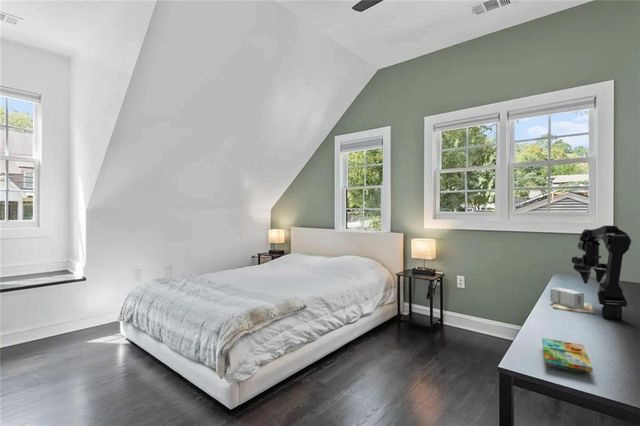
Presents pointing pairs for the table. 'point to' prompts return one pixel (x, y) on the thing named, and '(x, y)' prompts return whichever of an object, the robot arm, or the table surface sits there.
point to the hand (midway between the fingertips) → (592, 283)
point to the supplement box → (567, 297)
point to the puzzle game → (566, 355)
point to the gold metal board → (585, 309)
